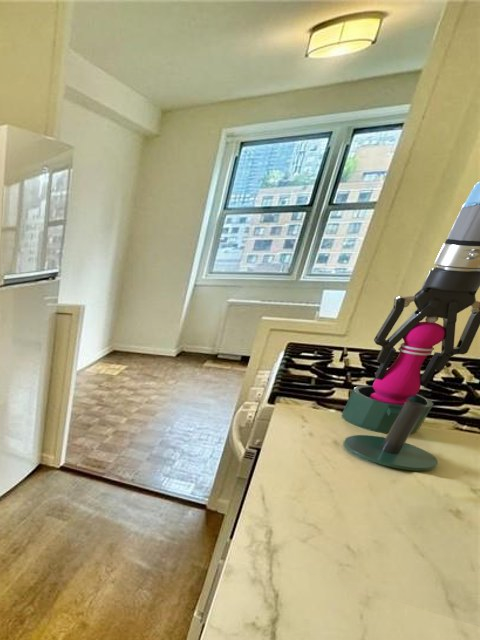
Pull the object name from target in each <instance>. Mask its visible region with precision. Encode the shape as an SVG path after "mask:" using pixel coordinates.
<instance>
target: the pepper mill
mask: <svg viewBox="0 0 480 640" xmlns="http://www.w3.org/2000/svg"><path fill="white" fill-rule="evenodd" d="M424 319H425V321H420V322H419V323H418V324H417V325H416V326H415V327H414V328H412V329H411V330H410V331H409V332H408V333H407V334H406V335H405V336H404V337H403V338H402V340H403V342H402V343H400V346H399V347H398V351H399V353H398V356H397V357H396V359H395V361H394V362H393V363H392V365H390V366H388V368H387V370H386V372H385V374H384V376H383V378H382V380H380V379H377V378H376V377H375V380H374V381H373V383H372V386H373V388H374V390H375V392H376V393H372V394H371V395H370V397H369V398H372V399H375V400H378V401H382V402H386V403H391V404H397V405H404V403H405V402H408V401H409V400H408V398H410V397H412V396H414V395H416V394H419V392H420V390H421V386H422V385H421V377H422V374H421V369H422V365H423V363H424V361H425V360H426V358H427V357H428V356H430V355H432V354H433V351H434V350H435V348H434V346H436V345H438V344H440V343H442V340H443V339H444V337H445V329H444V327H443V325H441V324H440V323H437V322H438V321H439V317H425V318H424Z"/></svg>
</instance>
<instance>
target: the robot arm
mask: <svg viewBox="0 0 480 640" xmlns="http://www.w3.org/2000/svg"><path fill="white" fill-rule="evenodd" d="M433 264H434V265H435V266H436V267H432V268H431V269H430V270H429V272H428V274H427V276H426V278H425V280H424V282H423V284H422V286H421V287H420V289H419V291H417V292H416V293H415V294H414V295H408V296H402V295H397V296H395V297H394V299H393V307H392V309H391V310H390V312H389V314H388V315H387V318H386V319H385V321H384V322H383V323H382V325H381V327H380V329H379V330H378V332H377V333H376V335H375V337H374V338H373V342H374V343H375V345H377V346H380V347H381V349H380V351H379V353H378V355H377V357H376V362H377V363H379V364H380V365H379V366H378V368H377V370H376V372H375V375H374V376H375V379H376V378H377V379H380V380H382V378H383V376H384V374H385V372H386V370H387V369H388V368H389V367H390V364H391V362H392V360H393V358H394V357H395V355H396V352H397V349H396V348H395V346H397V344H399V342H400V341H402V340H403V337H404V336H405V335H406V334H407V333H408V332H409V331H410V330H411V329H412V328H414V327H415V326H416V325H417V324H418V323H419V322H423V321H424V319H426V317H438V319H442V326H443V327H444V329H445V337H444V339H443V340H442V341H441V349H440V350H441V352H438V351H437V352H434V353H433V355H432V357H431V358H430V361H428V364H427V365H426V368H425V370H424V371H423V373H422V374H421V386H423V387H424V386H425V387H427V386H428V385H429V382H430V381H431V380H432V378H433V376H434V374H435V372H436V371H442V370H444V369H445V367H446V365H447V363H448V362H449V360H450V359H451V358H452V357H453V356H455V355H466V354H467V353H468V352H469V350H470V348H471V346H472V344H473V342H474V339H475V338H476V334H477V332H478V330H479V328H480V301H479V300H477V299H476V294H477V292H478V290H479V289H480V180H479V181H477V182H476V183H475V184H474V186H473V187H472V190H471V191H470V193H469V194H468V197H467V198H466V200H465V202H464V203H463V204H462V205H461V208H460V210H459V213H458V214H457V217H456V219H455V220H454V223H453V225H452V226H451V228H450V231H449V233H448V235H447V237H446V239H445V241H444V243H443V245H442V247H441V249H440V251H439V253H438V254H437V257H436V259H434V262H433ZM412 302H414V305H415V307H416V309H415V310H414V311H413V312H412V314H411V315H410V316H409V317H408V318H407V319H406V320H405V321H404V322H403V323H402V324H401V325H400V326H399V327H398V328H397V329H396V330H395V331H394V332H393V333H392V334H391V335H390V336H389V334H390V333H391V331H392V329H393V328H394V327H395V325H396V323H397V321H398V320H399V318H400V317H401V316H402V314H403V312H404V309H405V308H407V307H409V306H410V304H411V303H412ZM470 307H471V308H470ZM467 308H470V312H471V313H470V315H469V317H468V319H467V321H466V323H465V326H464V328H463V330H462V333H461V335H460V337H459V340H458V342H457V344H456V346H455V335H456V325H457V320H458V319H457V318H458V314H459V313H461V312H462V311H464V310H466V309H467ZM388 336H389V337H388ZM387 337H388V338H387Z"/></svg>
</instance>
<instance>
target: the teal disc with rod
mask: <svg viewBox="0 0 480 640" xmlns="http://www.w3.org/2000/svg"><path fill="white" fill-rule="evenodd" d="M425 407H426V406H425V405H423V404H421V403H417V402H410V401H408V402H405V403H404V405H403V407H402V409H401V411H400V412H399V414H398V416H397V418H396V420H395V422H394V423H393V425H392V427H391V429H390V431H389V433H388V434H386V436H385V437H383V436H377V435H368V434H367V435H365V434H355V435H350V436H348V437H346V438H345V439H344V440H343V442H342V444H343V446H344V448H345V449H346V450H348V451H349V452H351V454H354V455H356V456H358V457H360V458H362V459H364V460H367V461H369V462H373V463H375V464H379V465H382V466H385V467H390V468H395V469H399V470H400V469H401V470H407V471H418V472H419V471H420V472H422V471H431V470H434V469H435V468H437V466H438V465H439V460H438V459H437V457H436V456H434V455H433V454H432V453H430V452H429V451H426V450H425V449H423V448H420V447H419V446H415V445H413V444H410V443H407V440H408V439H409V437H410V433H411V431H412V430H413V428H414V426H415V424H416V423H417V421H418V419H419V417H420V416H421V414H422V412H423V410H424V409H425Z"/></svg>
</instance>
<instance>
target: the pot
mask: <svg viewBox="0 0 480 640" xmlns="http://www.w3.org/2000/svg"><path fill="white" fill-rule="evenodd" d="M372 393H376V392H375V390H374V388H373V385H358V386H356V387H354V388H353V389H352V391H351V394H350V396H349V397H348V400H347V402H346V404H345V406H344V408H343V410H342V414H341V417H342V419H343V420H345V421H346V422H348V423H349V424H351V425H353V426H356V427H359V428H362V429H364V430H368V431H371V432H375V433H376V432H377V433H380V434H386V435H387V434H388V433H389V431H390V429H391V427H392V425H393V423H394V422H395V420H396V418H397V416H398V414H399V412H400V411H401V409H402V407H403V405H397V404H391V403H386V402H382V401H378V400H375V399H372V398H369V397H370V395H371V394H372ZM408 400H409V401H410V402H417V403H421V404H423V405H425V406H426V407H425V409H424V410H423V412H422V414H421V416H420V417H419V419H418V421H417V423H416V424H415V426H414V428H413V430H412V431H411V433H410V435H414V434H416V433H418V431H419V430H420V428H421V427H422V425H423V423H424V422H425V420H426V418H427V417H428V415H429V413H430V411H431V410H432V408H433V406H434V402H433V401H432V400H431V399H430V398H427V397H425V396H423V395H421V394H419V393H417V394H416V395H414V396H412V397H410V398H408ZM410 435H409V436H410Z"/></svg>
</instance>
